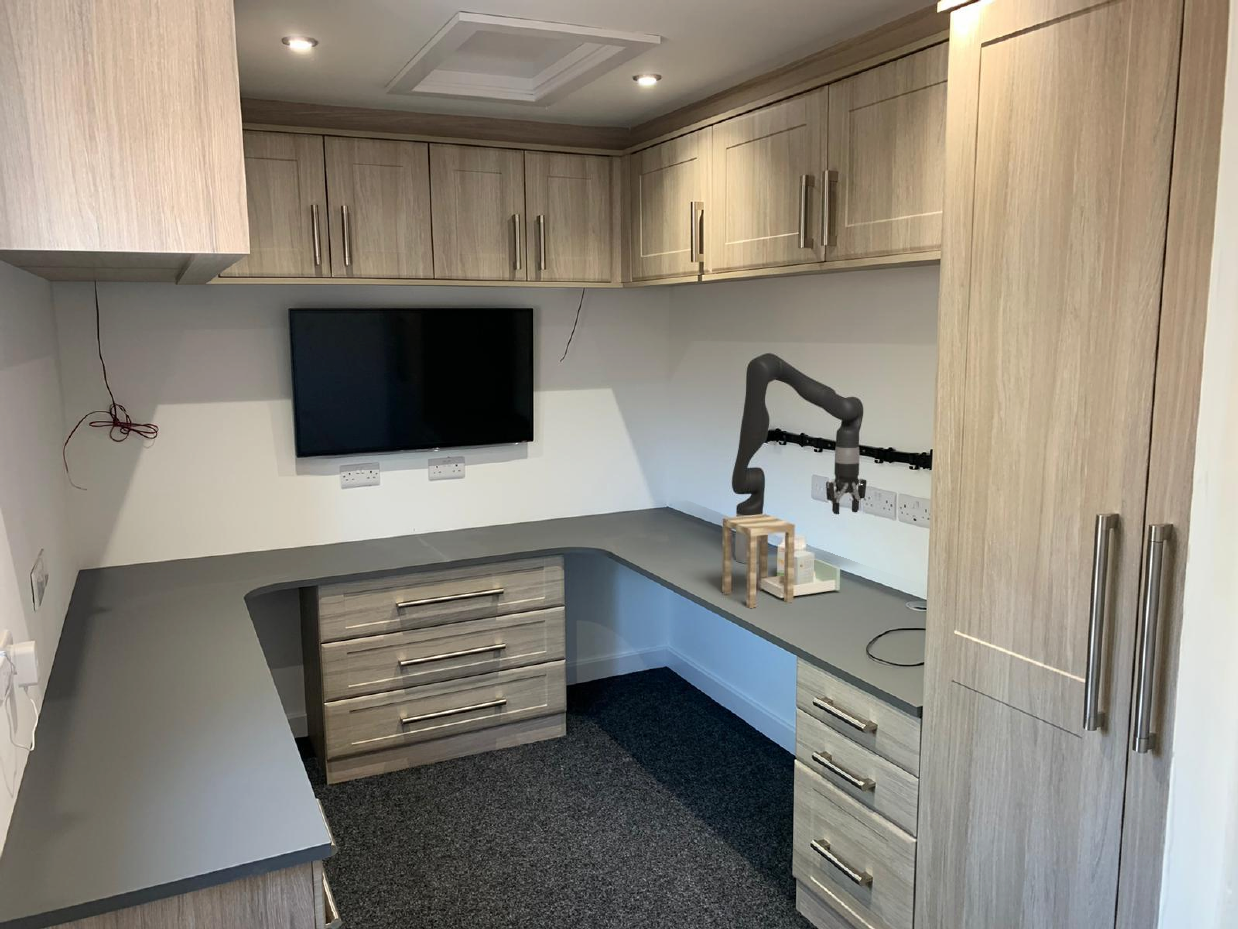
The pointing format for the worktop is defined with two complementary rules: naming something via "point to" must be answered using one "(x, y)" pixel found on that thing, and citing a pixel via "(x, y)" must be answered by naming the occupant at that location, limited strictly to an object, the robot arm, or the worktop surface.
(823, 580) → the drawer
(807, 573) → the small box
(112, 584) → the worktop surface
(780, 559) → the ink box
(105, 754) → the worktop surface
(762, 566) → the wooden step stool
